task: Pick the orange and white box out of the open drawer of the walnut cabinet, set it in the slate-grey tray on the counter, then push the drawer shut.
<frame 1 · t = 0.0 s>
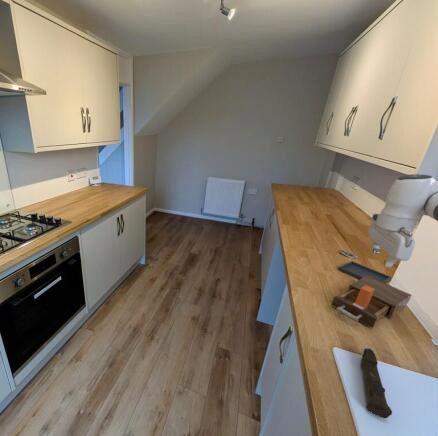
hand: (380, 259, 84), 20 cm above the counter, tool pointing down, fingers open, 8 cm apart
dark brown elongated piece: (366, 382, 62), on the counter
tray: (363, 275, 109), on the counter
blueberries: (348, 255, 127), on the counter
drawer: (358, 307, 85), point 3 cm above the counter, slide at 11.0 cm, touching orange and white box
cabinet: (374, 301, 92), on the counter
orange and white box: (359, 307, 86), point 2 cm above the counter, touching drawer
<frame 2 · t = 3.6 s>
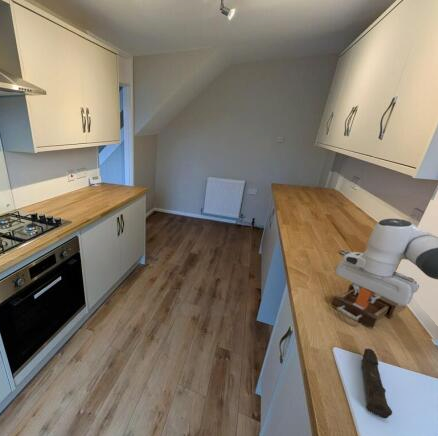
hand: (363, 298, 84), 6 cm above the counter, tool pointing down, fingers closed on orange and white box, 2 cm apart
orange and white box: (359, 307, 86), point 2 cm above the counter, touching drawer, gripper
everything else where it was.
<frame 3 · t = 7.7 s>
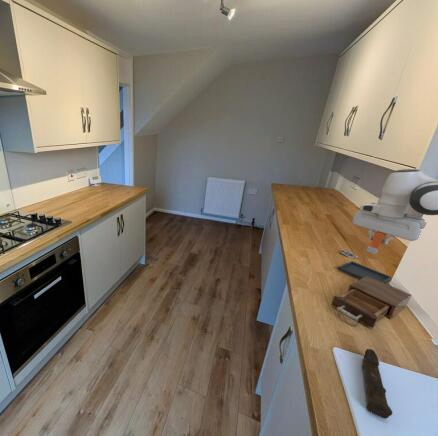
hand: (377, 241, 98), 19 cm above the counter, tool pointing down, fingers closed on orange and white box, 2 cm apart
drawer: (358, 307, 85), point 3 cm above the counter, slide at 11.0 cm
orange and white box: (374, 250, 100), point 15 cm above the counter, touching gripper
everything else where it was.
when the fingers open (4 cm above the counter, at t = 11.9 s): orange and white box stays where it is, resting on tray.
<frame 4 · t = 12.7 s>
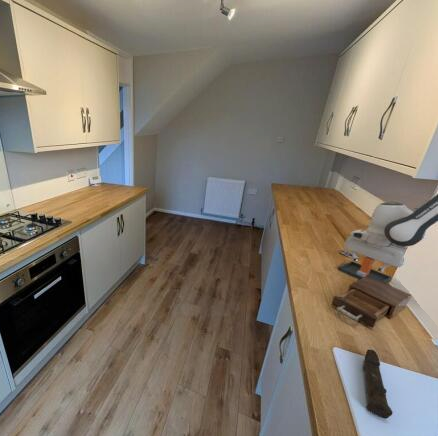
hand: (367, 265, 107), 5 cm above the counter, tool pointing down, fingers open, 8 cm apart
orange and white box: (363, 274, 109), resting on tray
everything else where it was.
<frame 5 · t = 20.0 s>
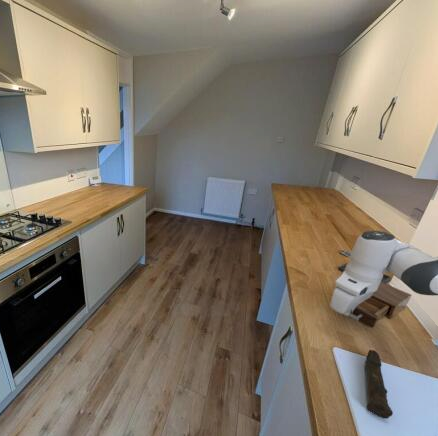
hand: (346, 313, 81), 4 cm above the counter, tool pointing down, fingers closed
drawer: (358, 307, 85), point 3 cm above the counter, slide at 10.8 cm, touching gripper
everything else where it was.
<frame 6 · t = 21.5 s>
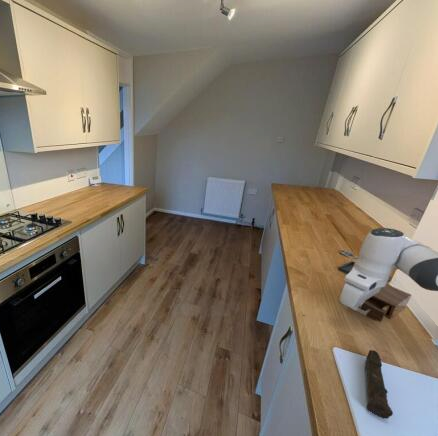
hand: (355, 308, 83), 4 cm above the counter, tool pointing down, fingers closed
drawer: (366, 302, 87), point 3 cm above the counter, slide at 5.2 cm, touching gripper
everything else where it was.
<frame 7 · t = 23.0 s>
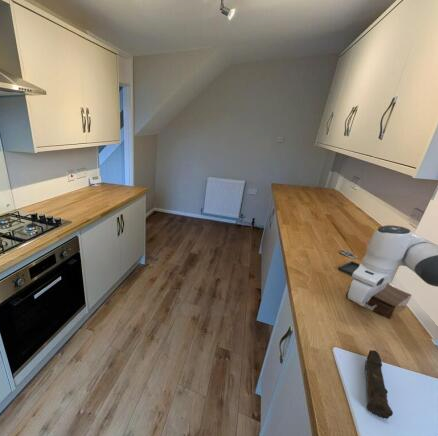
hand: (362, 304, 85), 4 cm above the counter, tool pointing down, fingers closed
drawer: (372, 298, 89), point 3 cm above the counter, slide at 0.2 cm, touching gripper
everything else where it was.
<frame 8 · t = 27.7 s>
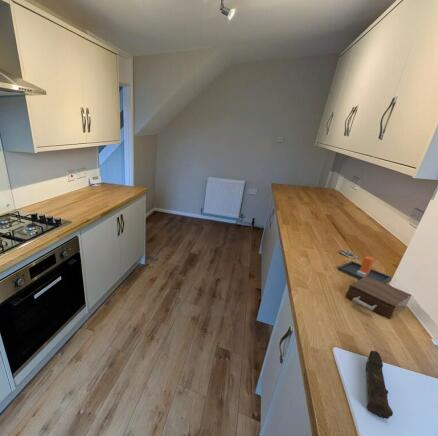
drawer: (372, 298, 90), point 3 cm above the counter, slide at 0.0 cm
everything else where it was.
at the end: orange and white box inside the target area in the tray (0.1 cm from its centre), point 0.5 cm above the tray's base; drawer slide at 0.0 cm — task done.
